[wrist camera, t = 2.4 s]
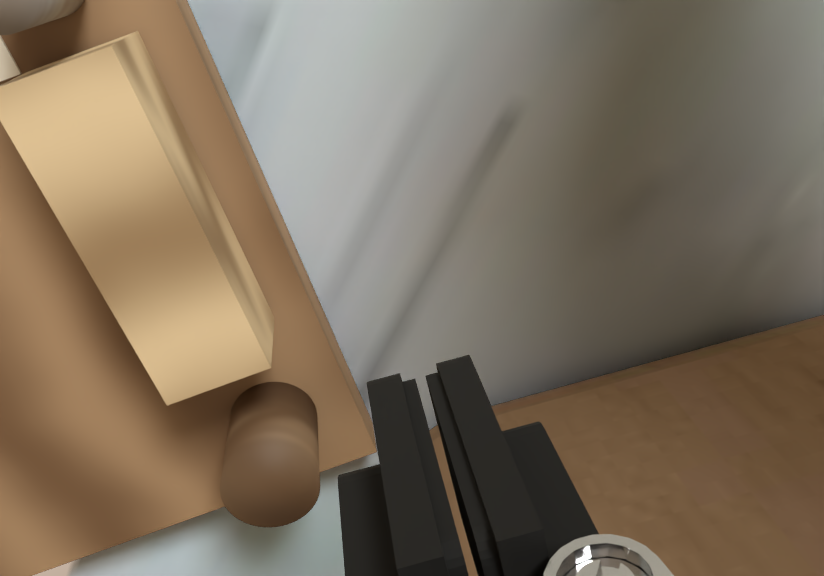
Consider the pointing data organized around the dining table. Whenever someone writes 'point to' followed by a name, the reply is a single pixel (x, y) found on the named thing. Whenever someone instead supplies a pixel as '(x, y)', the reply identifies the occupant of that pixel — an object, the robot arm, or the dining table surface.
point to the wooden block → (696, 453)
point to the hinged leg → (141, 215)
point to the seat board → (114, 355)
